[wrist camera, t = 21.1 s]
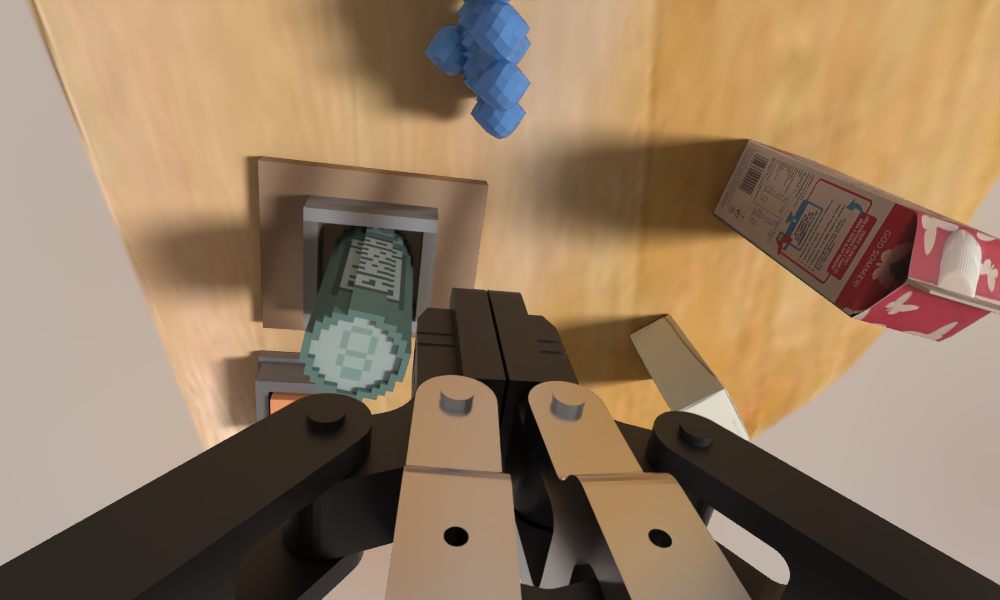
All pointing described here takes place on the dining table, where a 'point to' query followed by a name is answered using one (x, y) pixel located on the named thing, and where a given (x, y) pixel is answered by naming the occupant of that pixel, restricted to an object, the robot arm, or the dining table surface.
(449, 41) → the grapes
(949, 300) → the juice carton
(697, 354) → the skincare box
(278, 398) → the button
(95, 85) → the dining table surface
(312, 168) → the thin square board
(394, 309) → the can
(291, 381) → the button housing
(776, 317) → the dining table surface
